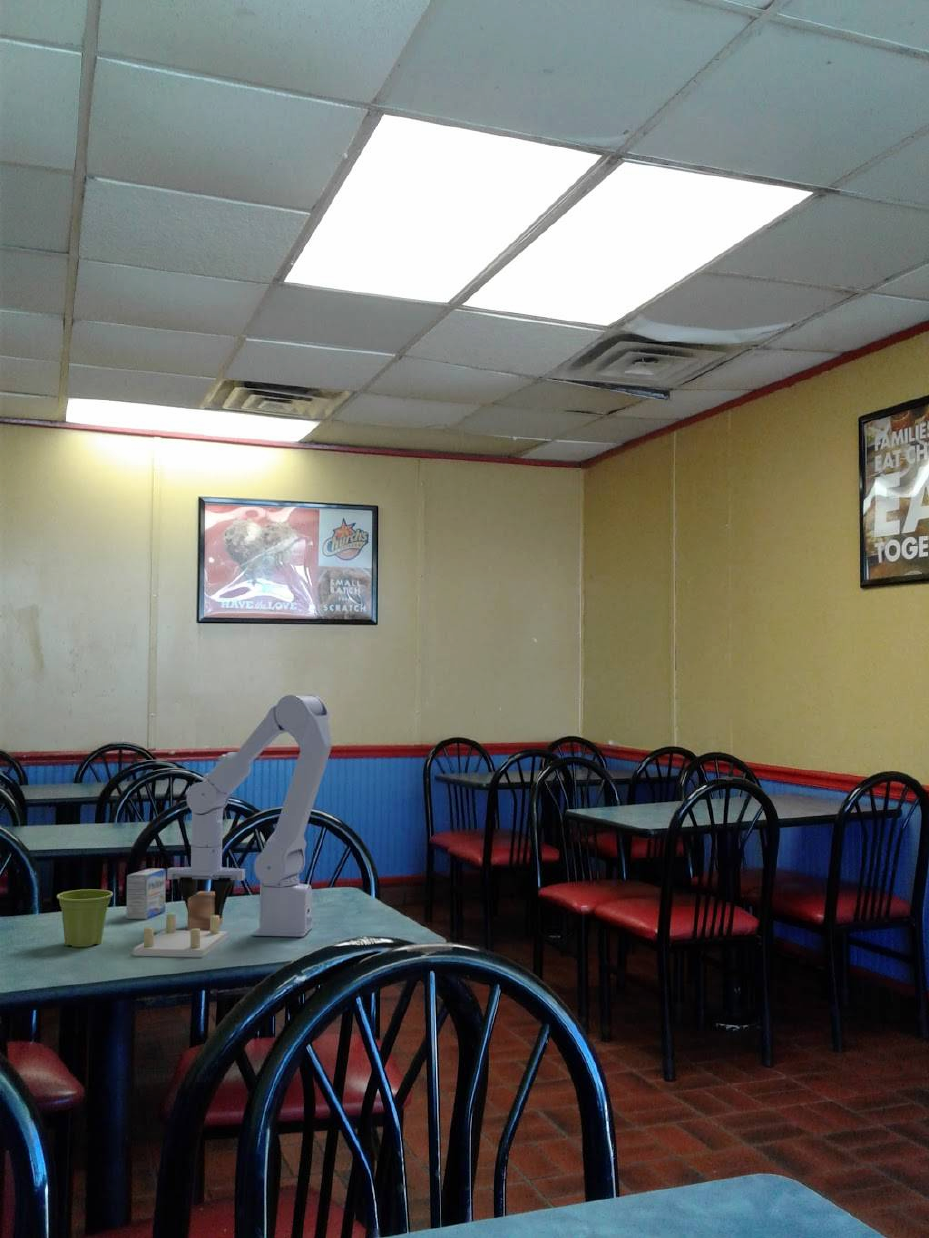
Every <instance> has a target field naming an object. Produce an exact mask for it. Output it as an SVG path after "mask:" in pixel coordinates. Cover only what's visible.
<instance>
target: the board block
mask: <svg viewBox="0 0 929 1238" xmlns="http://www.w3.org/2000/svg"><path fill="white" fill-rule="evenodd" d="M213 915H215V890H214V891H213V890H211V891H209V890H200V891H197V893H196V894H194V895H193V896H191V897H189V898H188V912H187V920H186V921H187V924H186V925H187V928H186V930H191V929H194V928H199V929H200V931H210V916H213ZM222 924H223V913H222V918H220V919H219V926H221V925H222Z"/></svg>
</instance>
